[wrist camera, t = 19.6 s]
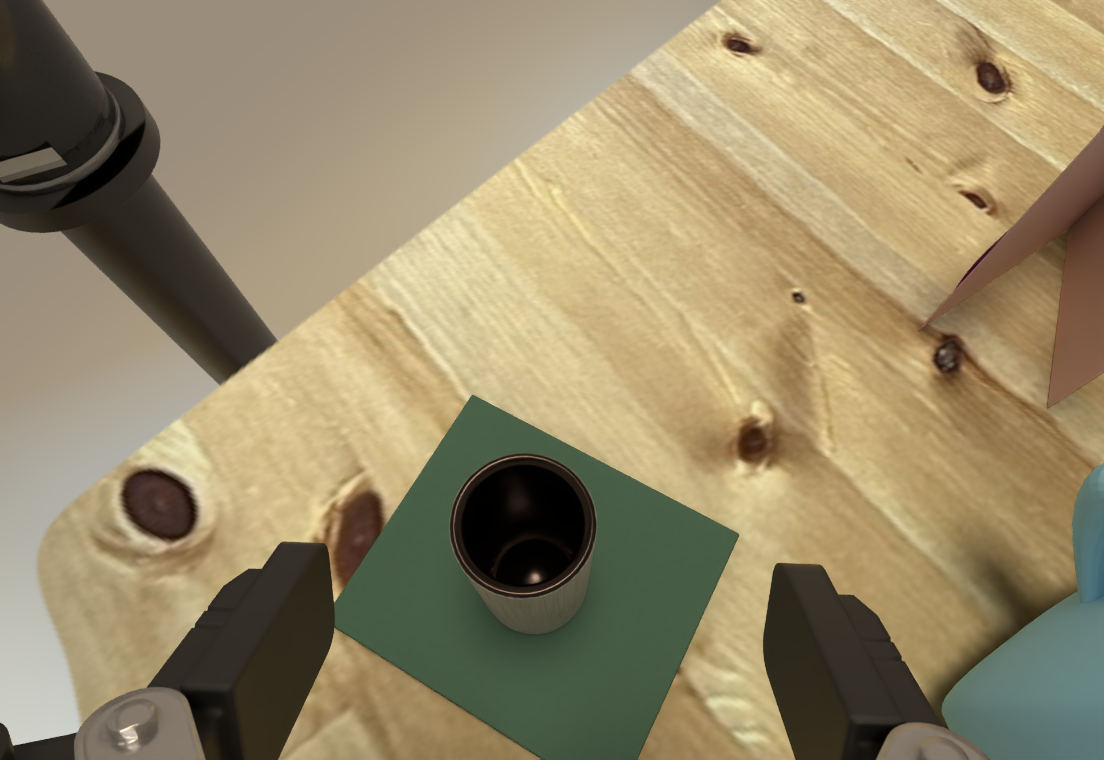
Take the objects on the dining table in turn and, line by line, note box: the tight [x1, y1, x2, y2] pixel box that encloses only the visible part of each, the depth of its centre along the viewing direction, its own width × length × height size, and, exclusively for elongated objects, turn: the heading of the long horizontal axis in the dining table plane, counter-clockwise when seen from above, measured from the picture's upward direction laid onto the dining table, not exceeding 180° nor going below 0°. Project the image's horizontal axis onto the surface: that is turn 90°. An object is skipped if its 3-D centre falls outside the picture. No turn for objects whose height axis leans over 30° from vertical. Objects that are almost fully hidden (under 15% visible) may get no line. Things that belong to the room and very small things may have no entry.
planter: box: [449, 453, 597, 635], centre depth 27 cm, size 4×4×10 cm
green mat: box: [334, 395, 739, 760], centre depth 32 cm, size 14×12×1 cm
